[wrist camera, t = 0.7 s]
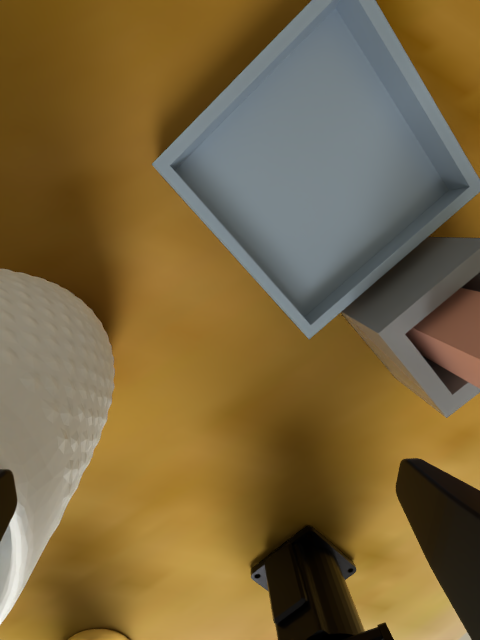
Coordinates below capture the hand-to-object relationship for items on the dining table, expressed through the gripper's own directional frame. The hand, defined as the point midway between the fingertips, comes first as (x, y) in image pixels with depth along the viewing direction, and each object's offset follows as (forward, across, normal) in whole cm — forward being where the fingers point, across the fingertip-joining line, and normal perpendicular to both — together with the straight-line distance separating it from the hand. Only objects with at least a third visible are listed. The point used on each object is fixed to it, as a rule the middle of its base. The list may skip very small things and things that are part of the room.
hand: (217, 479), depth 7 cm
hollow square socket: (+13, -13, -1) cm, 18 cm away
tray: (+13, -6, -9) cm, 17 cm away
